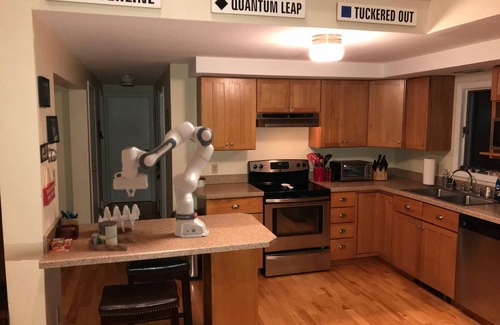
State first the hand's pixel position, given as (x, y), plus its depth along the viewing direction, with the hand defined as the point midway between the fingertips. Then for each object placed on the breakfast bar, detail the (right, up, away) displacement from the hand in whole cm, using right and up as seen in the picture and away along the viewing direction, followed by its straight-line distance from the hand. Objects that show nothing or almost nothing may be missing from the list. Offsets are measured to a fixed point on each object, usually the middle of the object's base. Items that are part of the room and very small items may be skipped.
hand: (131, 196), depth 239 cm
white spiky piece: (-15, -26, +24) cm, 38 cm away
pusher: (-18, -28, -7) cm, 35 cm away
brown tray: (-9, -29, -7) cm, 31 cm away
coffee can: (-11, -29, -7) cm, 32 cm away
